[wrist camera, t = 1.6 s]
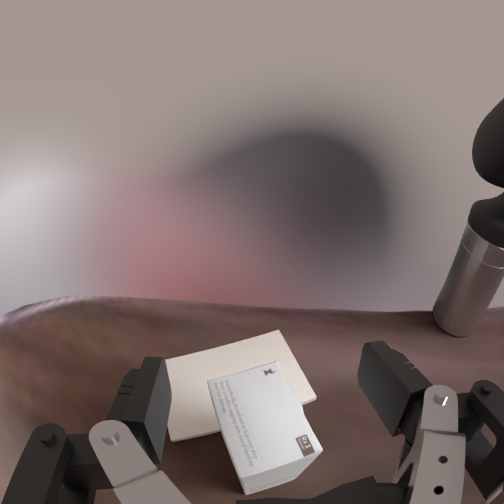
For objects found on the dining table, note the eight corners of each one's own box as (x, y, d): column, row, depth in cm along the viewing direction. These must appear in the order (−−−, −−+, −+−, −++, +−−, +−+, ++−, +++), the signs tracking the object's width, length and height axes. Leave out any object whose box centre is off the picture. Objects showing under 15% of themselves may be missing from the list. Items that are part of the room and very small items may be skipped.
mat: (278, 333, 41) (278, 329, 40) (315, 399, 31) (316, 396, 31) (157, 364, 36) (155, 361, 36) (172, 442, 27) (170, 440, 26)
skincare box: (223, 437, 28) (199, 375, 19) (273, 422, 29) (277, 353, 21) (246, 499, 21) (233, 480, 13) (300, 481, 23) (326, 447, 14)
